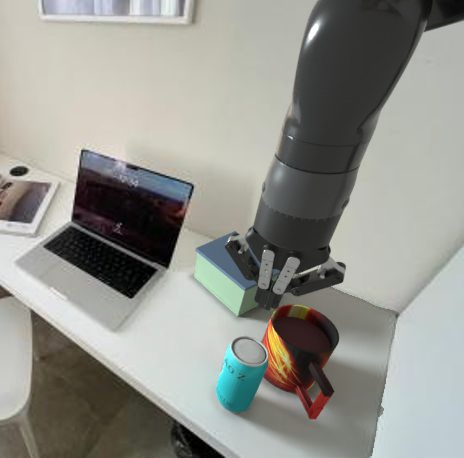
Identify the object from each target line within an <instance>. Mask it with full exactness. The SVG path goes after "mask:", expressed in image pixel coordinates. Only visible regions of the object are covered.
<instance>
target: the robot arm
mask: <svg viewBox="0 0 464 458" xmlns="http://www.w3.org/2000/svg"><path fill="white" fill-rule="evenodd" d="M462 22H464V0H316V1H315V3H314V5H313V7H312V9H311V11H310V13H309V15H308V18H307V21H306V25H305V28H304V32H303V35H302V39H301V43H300V47H299V53H298V57H297V63H296V68H295V74H294V79H293V86H292V90H291V91H292V92H291V100H290V103H289V105H288V108H287V111H286V113H285V115H284V118H283V122H282V124H281V129H280V133H279V135H278V140H277V143H276V147H275V150H274V155H273V157H272V159H271V162H270V164H269V167H268V168H267V172H266V174H265V177H264V178H265V179H264V181H263V182H262V186H261V193H260V198H259V202H258V206H257V209H256V212H255V217H254V221H253V224H252V225H250V227H249V228H248V229H247V232H246V233H243V234H240V233H239V234H240V235H239V234H237V233H238V232H237V233H232V232H231V233H232V234H231V236H230V237H229V239H228V241H227V243H226V245H225V249H226V250H227V252H228V253H229V255H230V256H231V258H232V259H233V261H234V262H235V264H236V265H237V267H238V268H239V270H240V272H241V273H242V275H243V276H244V278H245V279H246V280H249V281H252V280H254V281H255V282H256V283H257V284H258V288H257V291H256V294H255V298H254V300H255V302H257V303H259V305H258V306H257V308H259V309H262V310H263V309H264V310H266V311H268V312H270V311H271V310H272V309H273V310H275V309H277V308H278V307H280V306H279V305H280V303H281V300H282V298H283V295H284V294H288V293H289V294H291V295H292V296H294V297H302V296H305V295H309V294H311V293H314V292H317V291H320V290H324V289H327V288H330V287H333V286H336V285H337V286H338V285H340V284H342V283H344V281H345V274H346V271H347V265H346V264H345V262H342V261H336V260H335V259H334V258H333V257H331V252H332V248H331V246H330V243H331V240H332V238H333V236H334V234H335V231H336V229H337V227H338V225H339V223H340V220H341V218H342V216H343V213H344V211H345V209H346V208H347V207H348V205H349V203H350V199H351V195H352V193H353V191H354V188H355V186H356V182H357V178H358V173H359V170H360V168H361V163H362V162H363V159H364V157H365V155H366V152H367V150H368V148H369V145H370V143H371V141H372V138H373V136H374V134H375V132H376V128H377V125H378V122H379V119H380V115H381V114H382V113H381V112H382V111H383V109H384V107H385V105H386V104H387V103H388V100H389V99H390V97H391V96H392V94H393V92H394V90H395V88H396V87H397V85H398V83H399V81H400V80H401V78H402V76H403V74H404V73H405V71H406V69H407V67H408V65H409V63H410V61H411V59H412V57H413V55H414V53H415V52H416V50H417V48H418V46H419V43H420V42H421V39H422V36H423V35H424V34H425V33H427V32H430V31H434V30H437V29H441V28H445V27H447V26H451V25H454V24H458V23H462ZM248 247H250V248H251V250H252V252H253V253H254V255H255V257H256V259H257V260H258V261H259V262H260V263H261V267H259V265H258V263H257V261H256V260H255V258H254V257H253V255H252V254H251V252H250V251H249V249H248ZM313 268H316V269H313ZM274 269H277V270H279V271H280V272H279V274H278V276H277V279H276V281H274V282H273V280H272V278H273V273H274ZM311 269H313V270H311ZM308 270H310V271H308ZM306 271H308V272H306ZM296 274H299V275H296ZM294 275H296V276H295V277H294ZM272 283H273V285H272ZM271 286H272V288H271ZM270 289H271V290H270ZM269 292H270V293H269ZM268 295H269V296H268ZM267 298H268V299H267ZM266 301H267V302H266Z"/></svg>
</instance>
